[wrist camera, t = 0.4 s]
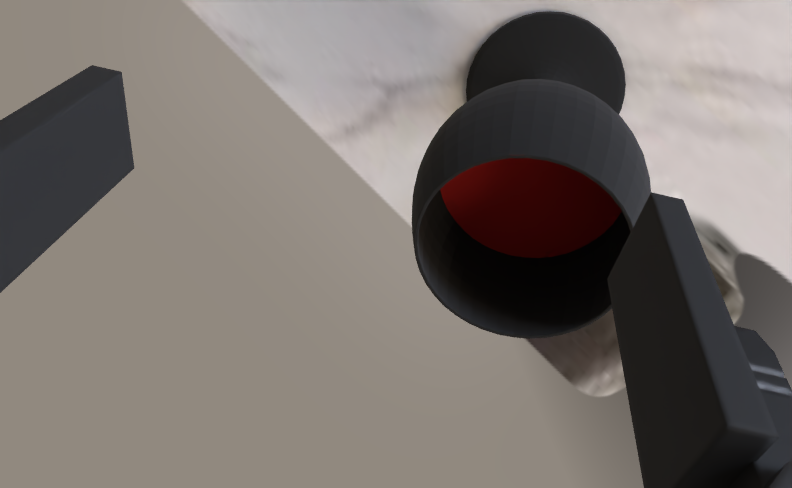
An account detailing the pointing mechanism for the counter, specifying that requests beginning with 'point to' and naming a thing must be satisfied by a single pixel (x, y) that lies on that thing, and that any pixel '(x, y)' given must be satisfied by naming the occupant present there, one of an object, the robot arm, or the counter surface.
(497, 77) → the wine glass
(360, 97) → the counter surface
